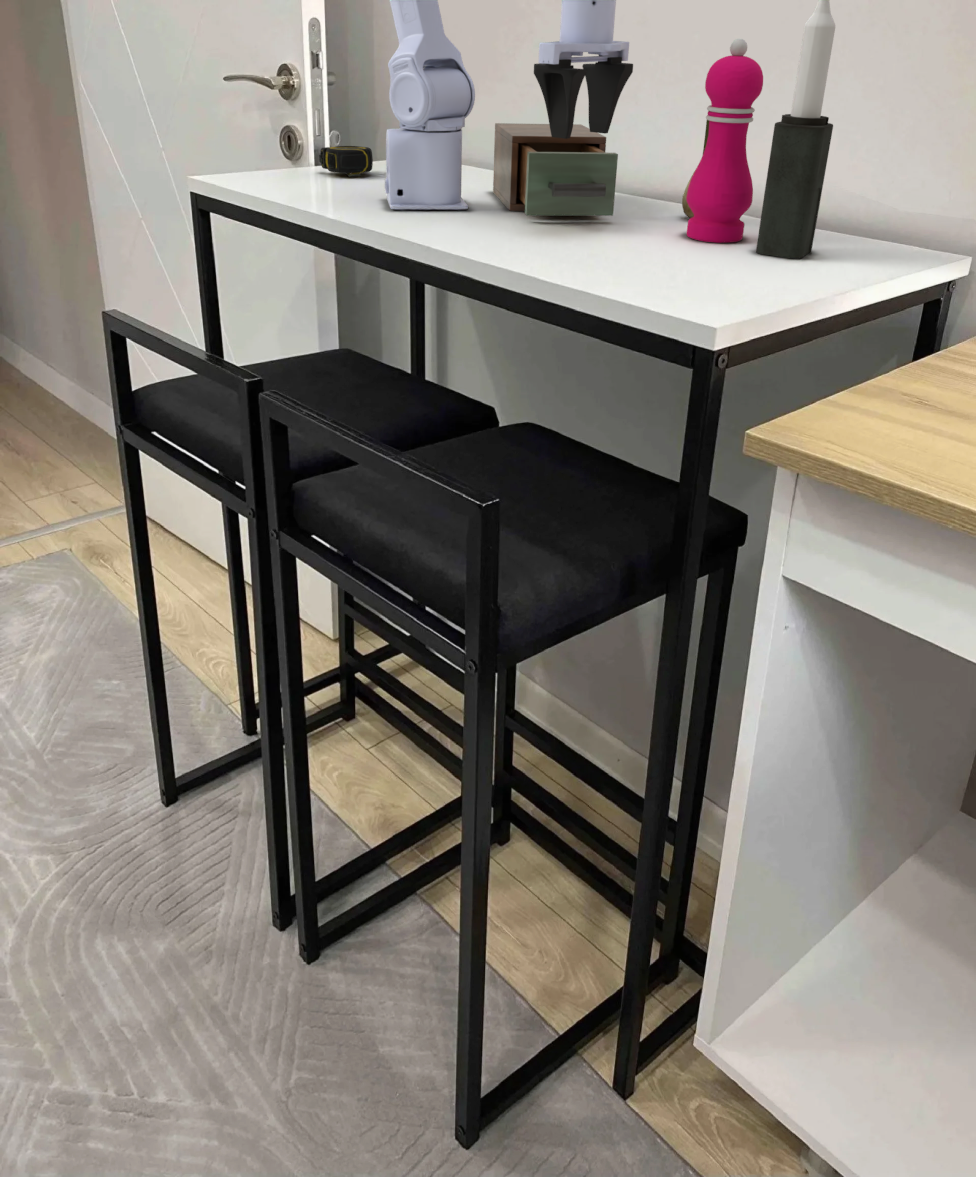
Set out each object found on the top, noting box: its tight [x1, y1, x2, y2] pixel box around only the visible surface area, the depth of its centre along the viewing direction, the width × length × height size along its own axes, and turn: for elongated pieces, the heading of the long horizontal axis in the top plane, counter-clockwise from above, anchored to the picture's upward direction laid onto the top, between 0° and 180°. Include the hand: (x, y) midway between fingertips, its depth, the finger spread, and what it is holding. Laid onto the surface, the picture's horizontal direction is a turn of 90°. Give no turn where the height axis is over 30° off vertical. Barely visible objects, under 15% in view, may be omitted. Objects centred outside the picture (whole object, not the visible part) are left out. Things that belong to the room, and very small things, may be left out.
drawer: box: [516, 143, 619, 217], centre depth 126 cm, size 17×10×7 cm, turn 8°
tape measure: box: [318, 145, 374, 177], centre depth 151 cm, size 7×7×4 cm
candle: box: [755, 0, 836, 259], centre depth 107 cm, size 5×5×25 cm
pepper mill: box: [686, 38, 764, 244], centre depth 115 cm, size 7×7×20 cm
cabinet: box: [492, 122, 607, 212], centre depth 135 cm, size 14×12×9 cm
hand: (580, 135), depth 118 cm, fingers open, 7 cm apart
